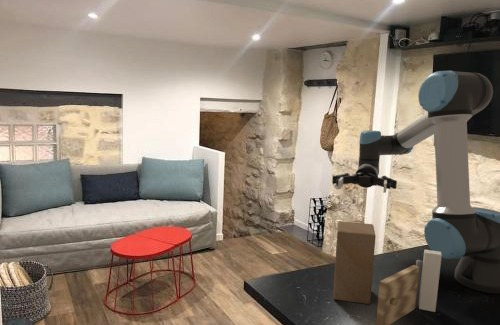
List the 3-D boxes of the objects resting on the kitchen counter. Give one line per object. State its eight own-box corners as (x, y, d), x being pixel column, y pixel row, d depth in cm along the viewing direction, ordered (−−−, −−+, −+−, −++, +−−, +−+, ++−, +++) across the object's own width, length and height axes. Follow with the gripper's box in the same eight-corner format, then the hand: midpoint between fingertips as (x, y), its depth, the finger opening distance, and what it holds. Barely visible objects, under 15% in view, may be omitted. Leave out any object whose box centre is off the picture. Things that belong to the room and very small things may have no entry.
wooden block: (370, 305, 109) (375, 235, 106) (332, 299, 111) (337, 231, 108) (368, 288, 119) (373, 223, 115) (333, 283, 121) (338, 220, 118)
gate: (409, 306, 109) (413, 264, 107) (419, 310, 107) (423, 268, 105) (375, 326, 99) (379, 281, 97) (385, 332, 96) (390, 285, 95)
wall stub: (434, 307, 108) (440, 251, 106) (435, 311, 106) (441, 255, 104) (411, 303, 110) (417, 248, 108) (411, 307, 108) (417, 251, 106)
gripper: (402, 188, 139) (404, 202, 120) (331, 183, 148) (320, 194, 128) (404, 167, 138) (405, 177, 119) (331, 163, 147) (321, 171, 127)
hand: (361, 186), depth 123 cm, fingers open, 13 cm apart
